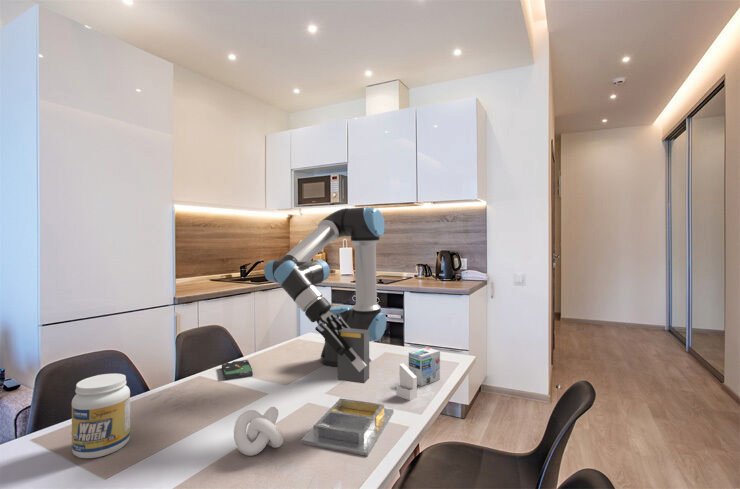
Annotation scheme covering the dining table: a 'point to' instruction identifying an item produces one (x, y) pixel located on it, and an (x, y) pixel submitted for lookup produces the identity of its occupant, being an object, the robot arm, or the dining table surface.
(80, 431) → the supplement tub
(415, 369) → the light bulb box
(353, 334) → the grey block
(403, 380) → the white wedge bracket
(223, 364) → the disk drive
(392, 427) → the dining table surface
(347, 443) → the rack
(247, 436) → the white knot
